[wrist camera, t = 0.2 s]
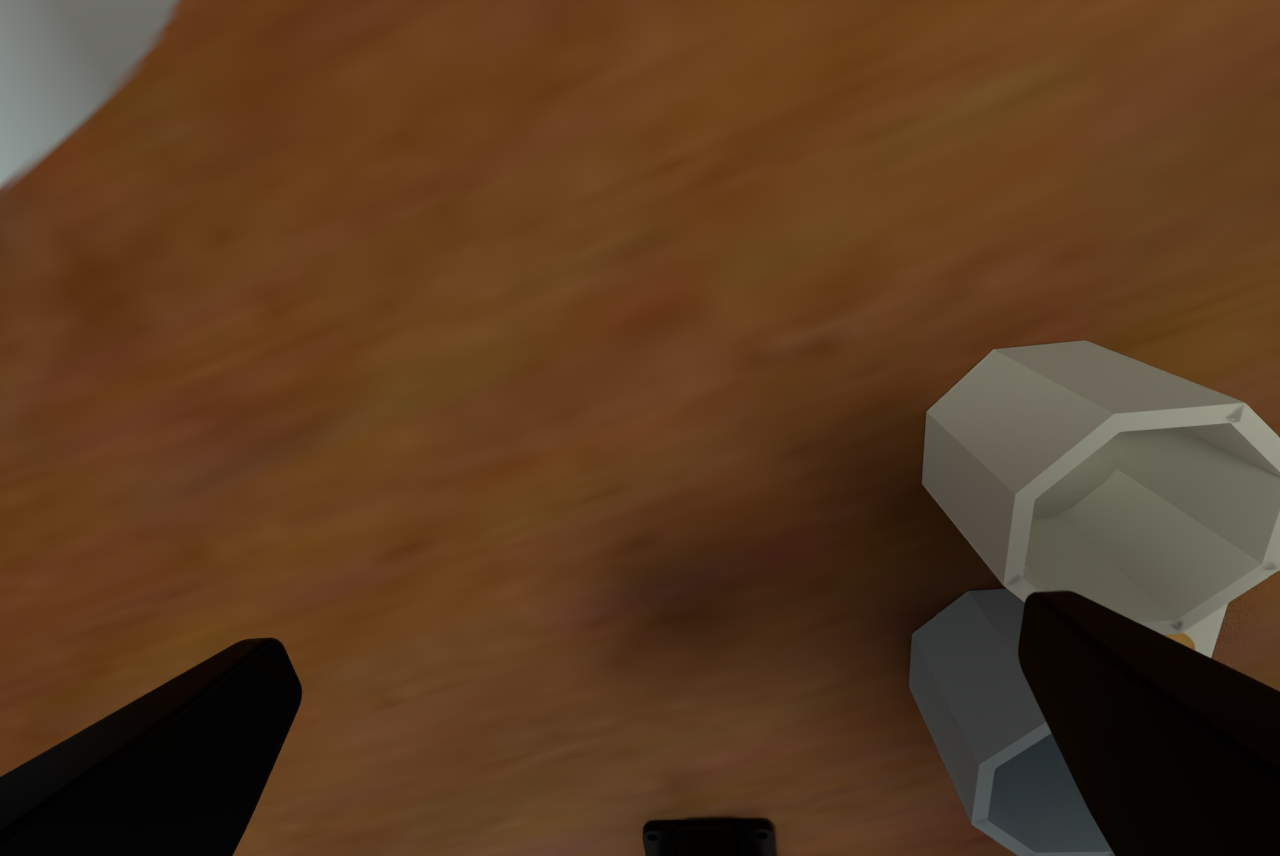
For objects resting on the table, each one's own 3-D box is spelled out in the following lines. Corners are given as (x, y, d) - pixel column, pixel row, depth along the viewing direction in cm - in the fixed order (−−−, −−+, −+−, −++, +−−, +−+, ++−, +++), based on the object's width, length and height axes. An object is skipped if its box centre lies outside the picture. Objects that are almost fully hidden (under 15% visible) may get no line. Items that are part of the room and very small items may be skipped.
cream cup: (1113, 517, 22) (1259, 630, 16) (918, 530, 23) (995, 642, 17) (1152, 333, 19) (1340, 394, 14) (930, 355, 20) (1025, 421, 15)
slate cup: (1072, 714, 26) (1180, 860, 20) (906, 720, 26) (966, 862, 21) (1100, 583, 23) (1232, 709, 18) (914, 594, 24) (985, 718, 18)
